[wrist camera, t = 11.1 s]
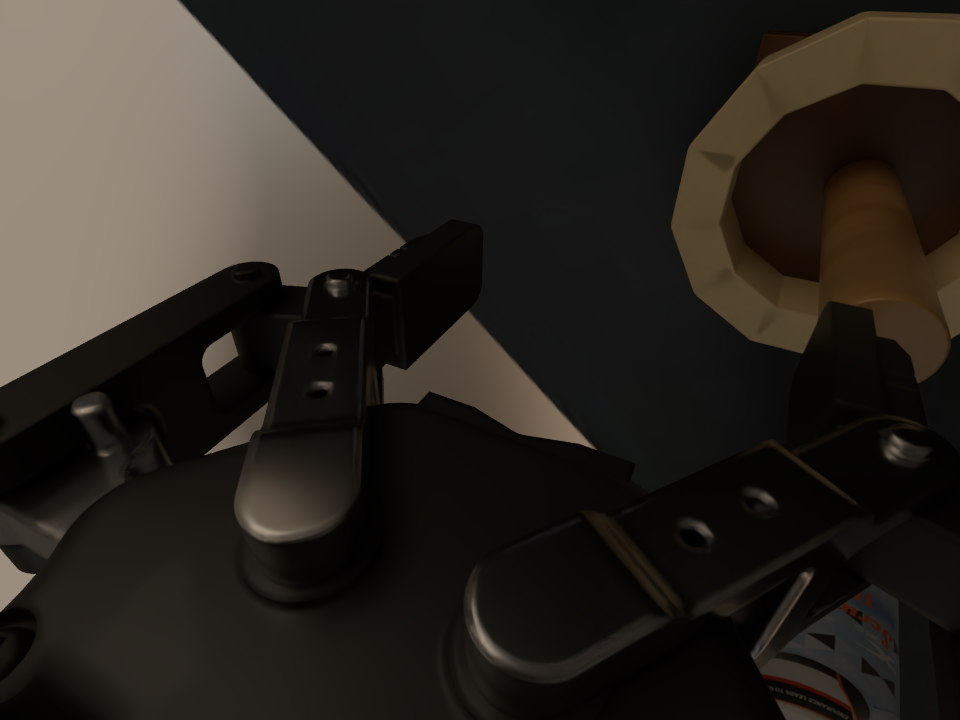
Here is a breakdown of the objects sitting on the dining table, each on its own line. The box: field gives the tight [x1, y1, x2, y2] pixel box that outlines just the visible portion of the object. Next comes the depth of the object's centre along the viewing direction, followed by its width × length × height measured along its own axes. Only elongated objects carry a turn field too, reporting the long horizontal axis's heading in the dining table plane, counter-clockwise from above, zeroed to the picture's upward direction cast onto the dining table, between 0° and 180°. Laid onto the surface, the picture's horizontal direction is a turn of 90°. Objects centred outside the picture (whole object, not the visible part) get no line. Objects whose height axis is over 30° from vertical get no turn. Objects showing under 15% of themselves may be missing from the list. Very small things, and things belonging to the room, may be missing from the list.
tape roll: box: [671, 11, 960, 353], centre depth 18 cm, size 10×10×3 cm
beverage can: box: [759, 584, 900, 720], centre depth 24 cm, size 6×7×12 cm
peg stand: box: [731, 31, 960, 383], centre depth 15 cm, size 9×9×12 cm
